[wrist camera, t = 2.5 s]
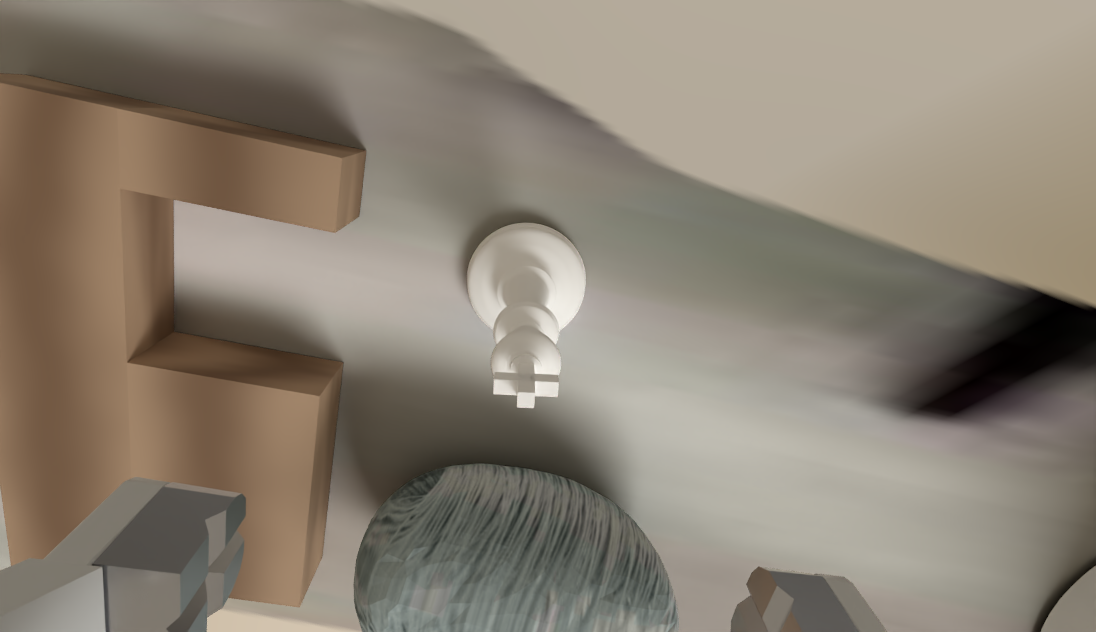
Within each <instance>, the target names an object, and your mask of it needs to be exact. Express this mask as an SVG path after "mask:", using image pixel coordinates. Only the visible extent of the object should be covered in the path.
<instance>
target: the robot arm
mask: <svg viewBox="0 0 1096 632" xmlns="http://www.w3.org/2000/svg"><path fill="white" fill-rule="evenodd" d="M245 516H246V497H245V496H244V495H243V494H242V493H236V492H230V491H224V490H218V489H212V488H206V487H200V486H194V485H187V484H181V483H175V482H172V483H170V482H165V481H159V480H153V479H147V478H141V477H134V478H131V479H129V480H126V481H125V482H123V483H122V484H121V485H120V486H119V487H118V488H117V489H116V490H115V491H114V492H113V493H112V494H111V495H110V496H108V497H107V498H106V499H105V500H104V501H103V502H102V503H101V504H100V505H99V506H98V507H97V508H96V509H95V510H94V511H93V512H92V513H91V514H90V515H89V516H88V517H87V518H86V519H84V520H83V521H82V522H81V523H80V524H79V525H78V526H77V527H76V528H75V529H74V530H73V531H72V532H71V533H70V534H69V535H68V536H67V537H66V538H65V539H64V540H63V541H62V542H60V543H59V544H58V545H57V546H56V547H55V548H54V549H53V550H52V551H51V552H50V553H49V554H48V555H47V556H46V557H45V558H44V559H34V558H29V559H27V560H24V561H22V562H20V563H17V564H15V565H13V566H10V567H8V568H5V569H3V570H1V571H0V632H206V630H207V629H206V628H207V617H209V616H210V615H212V614H213V613H215V612H216V611H218V610H220V609H221V608H223V606H224V604H225V602H226V600H227V599H228V597H229V595H230V593H231V591H232V589H233V587H234V584H235V581H236V579H237V576H238V574H239V571H240V568H241V563H242V558H243V553H244V539H243V537H242V536H241V535H240V533H239V532H238V531H237V529H238V527H239V526H240V524H241V522H242V521H243V519H244V518H245ZM747 587H748V590H749V592H750V596H749V597H748V598H746V599H745V600H743V601H742V602H740V603H739V604H737V607H736V609H735V612H734V615H733V617H732V620H731V632H887V631H886V629H885V628H884V626H883V625H882V624H881V622H880V621H879V619H878V618H877V617H876V615H875V614H874V612H873V611H872V610H871V608H870V607H869V605H868V604H867V603H866V601H865V600H864V598H863V597H862V596H861V594H860V593H859V591H858V590H857V589H856V587H855V586H854V584H853V583H852V582H850V581H849V580H847V579H846V578H845V577H841V576H833V575H824V574H811V573H804V572H797V571H789V570H782V569H774V568H767V567H758V568H757V569H755V570H754V571H753V572H752V573H751V575H750V578H749V580H748V582H747ZM1041 632H1096V566H1094V567H1093V568H1092V569H1091V570H1089V571H1088V572H1087V573H1086V574H1084V575H1083V576H1082V577H1081V578H1080V579H1079V580H1078V581H1077V582H1076V583H1075V584H1073V585H1072V586H1071V587H1070V589H1069V590H1068V591H1067V592H1066V593H1065V594H1064V595H1063V596H1062V598H1061V599H1060V600H1059V601H1058V603H1057V604H1056V605H1055V607H1054V608H1053V609H1052V611H1051V613H1050V614H1049V616H1048V618H1047V619H1046V621H1045V623H1044V625H1043V627H1042V630H1041Z"/></svg>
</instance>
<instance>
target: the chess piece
mask: <svg viewBox="0 0 1096 632" xmlns="http://www.w3.org/2000/svg"><path fill="white" fill-rule="evenodd" d="M585 286H586V273H585V268H584V264H583V261H582V258H581V256H580V254H579V252H578V251H577V249H576V248H575V246H574V245H573V244H572V243H571V242H570V241H569V240H568V239H567V238H566V237H565V236H564V235H562V234H561V233H560V232H558V231H556V230H554V229H552V228H550V227H547V226H545V225H541V224H536V223H516V224H511V225H508V226H505V227H502V228H500V229H498V230H496V231H494V232H493V233H491V234H490V235H489V236H487V237H486V238H485V239H484V240H483V241H482V242H481V243H480V244H479V246H478V247H477V248H476V250H475V252H474V253H473V255H472V257H471V260H470V263H469V266H468V271H467V288H468V294H469V298H470V302H471V304H472V307H473V309H474V310H475V312H476V314H477V315H478V317H479V318H480V319H481V320H482V321H483V322H484V323H485V324H486V325H487V326H488V327H489V328H491V329H492V330H493V335H494V340H495V343H496V347H495V349H494V351H493V353H492V357H491V370H492V373H493V376H494V388H493V394H498V395H517V407H518V408H534V402H535V396H544V397H558V386H559V380H558V376H559V374H560V371H561V356H560V352H559V350H558V348H557V346H556V344H557V341H558V338H559V330H561V329H562V328H564V327H565V326H566V325H567V324H568V323H569V322H570V321H571V320H572V319H573V318H574V316H575V315H576V313H577V312H578V310H579V308H580V306H581V304H582V301H583V298H584V293H585Z"/></svg>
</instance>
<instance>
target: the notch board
mask: <svg viewBox="0 0 1096 632" xmlns="http://www.w3.org/2000/svg"><path fill="white" fill-rule="evenodd" d="M365 159H366V151H365V150H361V149H357V148H352V147H348V146H343V145H339V144H334V143H330V142H325V141H321V140H316V139H312V138H307V137H303V136H298V135H294V134H289V133H285V132H280V131H276V130H271V129H267V128H262V127H258V126H253V125H249V124H244V123H240V122H235V121H231V120H226V119H222V118H218V117H213V116H209V115H204V114H200V113H195V112H191V111H186V110H182V109H177V108H173V107H168V106H164V105H159V104H155V103H150V102H146V101H141V100H137V99H132V98H128V97H123V96H119V95H114V94H110V93H105V92H101V91H96V90H92V89H88V88H83V87H79V86H74V85H70V84H65V83H61V82H56V81H52V80H47V79H43V78H38V77H34V76H29V75H22V74H4V73H0V487H1V494H2V502H3V509H4V517H5V524H6V531H7V539H8V546H9V554H10V561H11V566H13V565H15V564H17V563H20V562H22V561H24V560H27V559H29V558H34V559H44V558H45V557H46V556H47V555H48V554H49V553H50V552H51V551H52V550H53V549H54V548H55V547H56V546H57V545H58V544H59V543H60V542H62V541H63V540H64V539H65V538H66V537H67V536H68V535H69V534H70V533H71V532H72V531H73V530H74V529H75V528H76V527H77V526H78V525H79V524H80V523H81V522H82V521H83V520H84V519H86V518H87V517H88V516H89V515H90V514H91V513H92V512H93V511H94V510H95V509H96V508H97V507H98V506H99V505H100V504H101V503H102V502H103V501H104V500H105V499H106V498H107V497H108V496H110V495H111V494H112V493H113V492H114V491H115V490H116V489H117V488H118V487H119V486H120V485H121V484H122V483H123V482H125V481H126V480H129V479H131V478H134V477H141V478H147V479H153V480H159V481H165V482H170V483H172V482H175V483H181V484H187V485H194V486H200V487H206V488H212V489H218V490H224V491H230V492H236V493H242V494H243V495H244V496H245V497H246V516H245V518H244V519H243V521H242V522H241V524H240V526H239V527H238V529H237V531H238V532H239V533H240V535H241V536H242V537H243V539H244V553H243V558H242V563H241V568H240V571H239V574H238V576H237V579H236V581H235V584H234V587H233V589H232V591H231V593H230V595H229V597H228V598H234V599H241V600H249V601H256V602H264V603H271V604H278V605H286V606H293V607H300V605H301V603H302V601H303V599H304V596H305V594H306V592H307V590H308V588H309V585H310V583H311V581H312V579H313V576H314V574H315V572H316V570H317V568H318V565H319V563H320V561H321V559H322V555H323V545H324V536H325V527H326V518H327V509H328V499H329V490H330V481H331V472H332V463H333V453H334V444H335V435H336V426H337V417H338V407H339V398H340V389H341V380H342V371H343V362H338V361H332V360H327V359H321V358H316V357H310V356H305V355H299V354H294V353H288V352H283V351H277V350H272V349H266V348H261V347H255V346H250V345H244V344H239V343H233V342H228V341H222V340H217V339H211V338H206V337H200V336H195V335H189V334H184V333H178V332H174V217H173V200H178V201H183V202H188V203H193V204H198V205H203V206H207V207H212V208H217V209H222V210H227V211H232V212H236V213H241V214H246V215H251V216H256V217H261V218H266V219H270V220H275V221H280V222H285V223H290V224H295V225H300V226H304V227H309V228H314V229H319V230H324V231H329V232H334V233H336V232H337V231H338V230H340V229H341V228H343V227H344V226H346V225H347V224H349V223H350V222H352V221H353V220H355V219H356V218H358V217H359V214H360V205H361V196H362V187H363V177H364V168H365Z"/></svg>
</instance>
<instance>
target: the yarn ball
mask: <svg viewBox="0 0 1096 632" xmlns="http://www.w3.org/2000/svg"><path fill="white" fill-rule="evenodd" d="M354 603H355V609H356V613H357V616H358V619H359V622H360V625H361V629H362V631H363V632H679V616H678V609H677V604H676V600H675V596H674V593H673V589H672V586H671V583H670V580H669V577H668V574H667V572H666V570H665V568H664V565H663V563H662V561H661V559H660V557H659V555H658V553H657V552H656V550H655V549H654V547H653V546H652V544H651V543H650V541H649V540H648V538H647V537H646V535H645V534H644V533H643V531H642V530H641V529H640V528H639V526H638V525H637V524H636V523H635V521H634V520H633V519H632V518H631V517H630V516H629V515H628V514H627V513H625V512H624V511H623V510H622V509H620V508H619V507H618V506H617V505H616V504H615V503H613V502H612V501H610V500H609V499H607V498H605V497H604V496H602V495H600V494H598V493H596V492H594V491H593V490H591V489H589V488H587V487H586V486H584V485H582V484H580V483H578V482H576V481H573V480H571V479H568V478H565V477H561V476H558V475H554V474H551V473H547V472H541V471H536V470H532V469H528V468H519V467H510V466H502V465H494V464H481V463H477V464H467V465H453V466H449V467H444V468H440V469H437V470H434V471H430V472H428V473H425V474H423V475H421V476H419V477H417V478H414V479H412V480H411V481H409V482H408V483H406V484H405V485H404V486H402V487H401V488H399V489H398V490H397V491H396V492H395V493H393V494H392V495H391V496H390V497H389V498H388V499H387V500H386V501H385V503H384V504H383V505H382V506H381V507H380V508H379V509H378V511H377V512H376V514H375V515H374V517H373V518H372V520H371V522H370V524H369V526H368V528H367V530H366V533H365V535H364V537H363V540H362V542H361V545H360V548H359V552H358V556H357V559H356V567H355V577H354Z"/></svg>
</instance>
